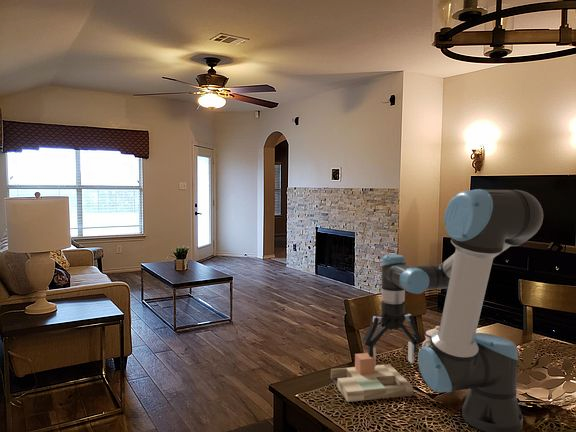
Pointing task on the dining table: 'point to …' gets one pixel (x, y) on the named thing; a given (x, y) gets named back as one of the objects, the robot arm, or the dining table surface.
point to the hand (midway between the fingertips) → (392, 363)
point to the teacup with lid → (429, 336)
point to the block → (364, 363)
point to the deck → (371, 383)
